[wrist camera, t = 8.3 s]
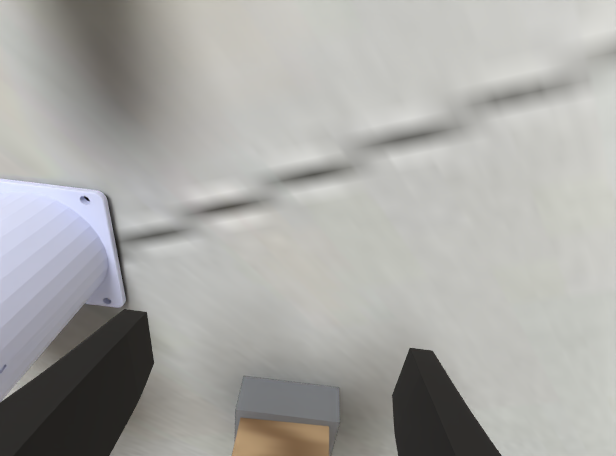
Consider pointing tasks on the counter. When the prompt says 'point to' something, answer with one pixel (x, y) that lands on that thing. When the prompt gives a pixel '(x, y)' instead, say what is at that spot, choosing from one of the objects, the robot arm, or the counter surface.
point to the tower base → (289, 403)
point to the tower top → (280, 439)
